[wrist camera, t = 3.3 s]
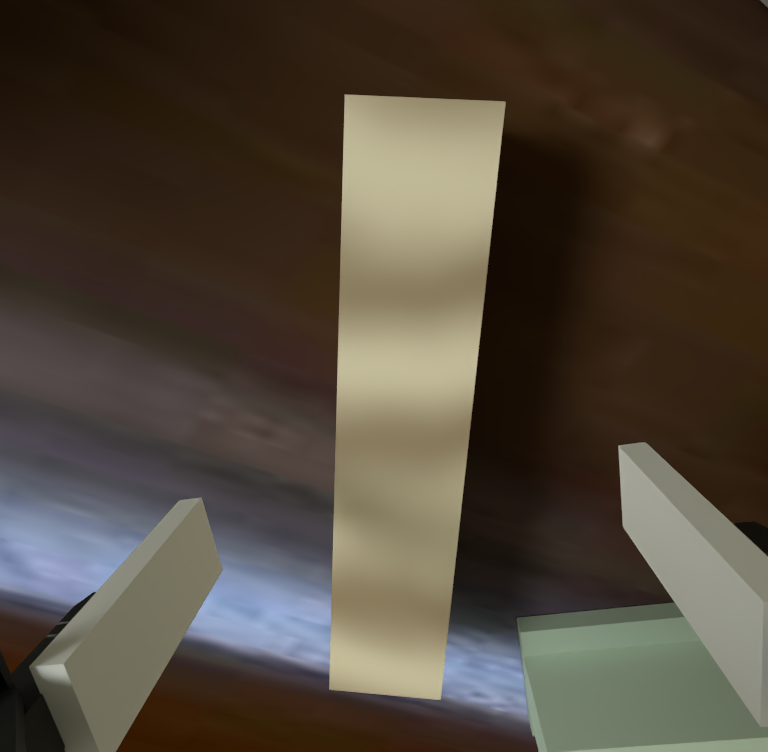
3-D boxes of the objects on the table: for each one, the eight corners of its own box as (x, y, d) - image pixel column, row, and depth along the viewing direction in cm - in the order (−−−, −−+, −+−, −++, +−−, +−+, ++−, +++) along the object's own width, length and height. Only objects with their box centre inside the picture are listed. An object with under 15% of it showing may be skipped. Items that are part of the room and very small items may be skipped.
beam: (436, 616, 27) (440, 699, 23) (344, 608, 28) (329, 689, 23) (484, 130, 20) (505, 101, 16) (361, 124, 21) (344, 94, 16)
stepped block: (528, 719, 29) (557, 843, 23) (516, 617, 27) (544, 725, 21) (753, 701, 27) (843, 828, 22) (758, 594, 25) (858, 702, 20)
